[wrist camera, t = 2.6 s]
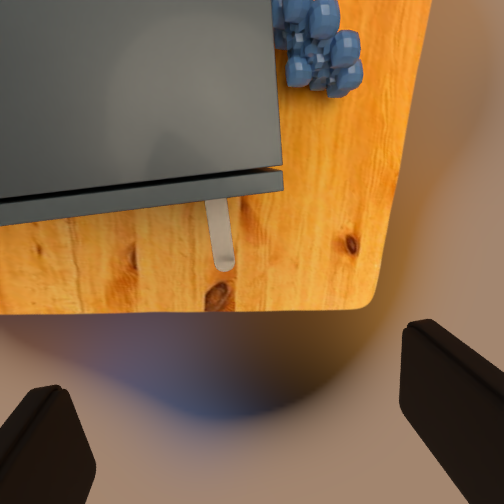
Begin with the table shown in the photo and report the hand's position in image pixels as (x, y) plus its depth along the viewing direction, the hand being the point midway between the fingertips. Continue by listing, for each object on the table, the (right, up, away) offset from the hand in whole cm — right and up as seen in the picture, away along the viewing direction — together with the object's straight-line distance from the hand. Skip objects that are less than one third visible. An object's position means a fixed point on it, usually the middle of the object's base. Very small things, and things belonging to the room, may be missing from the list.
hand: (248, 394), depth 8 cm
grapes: (+5, +25, +27) cm, 37 cm away
